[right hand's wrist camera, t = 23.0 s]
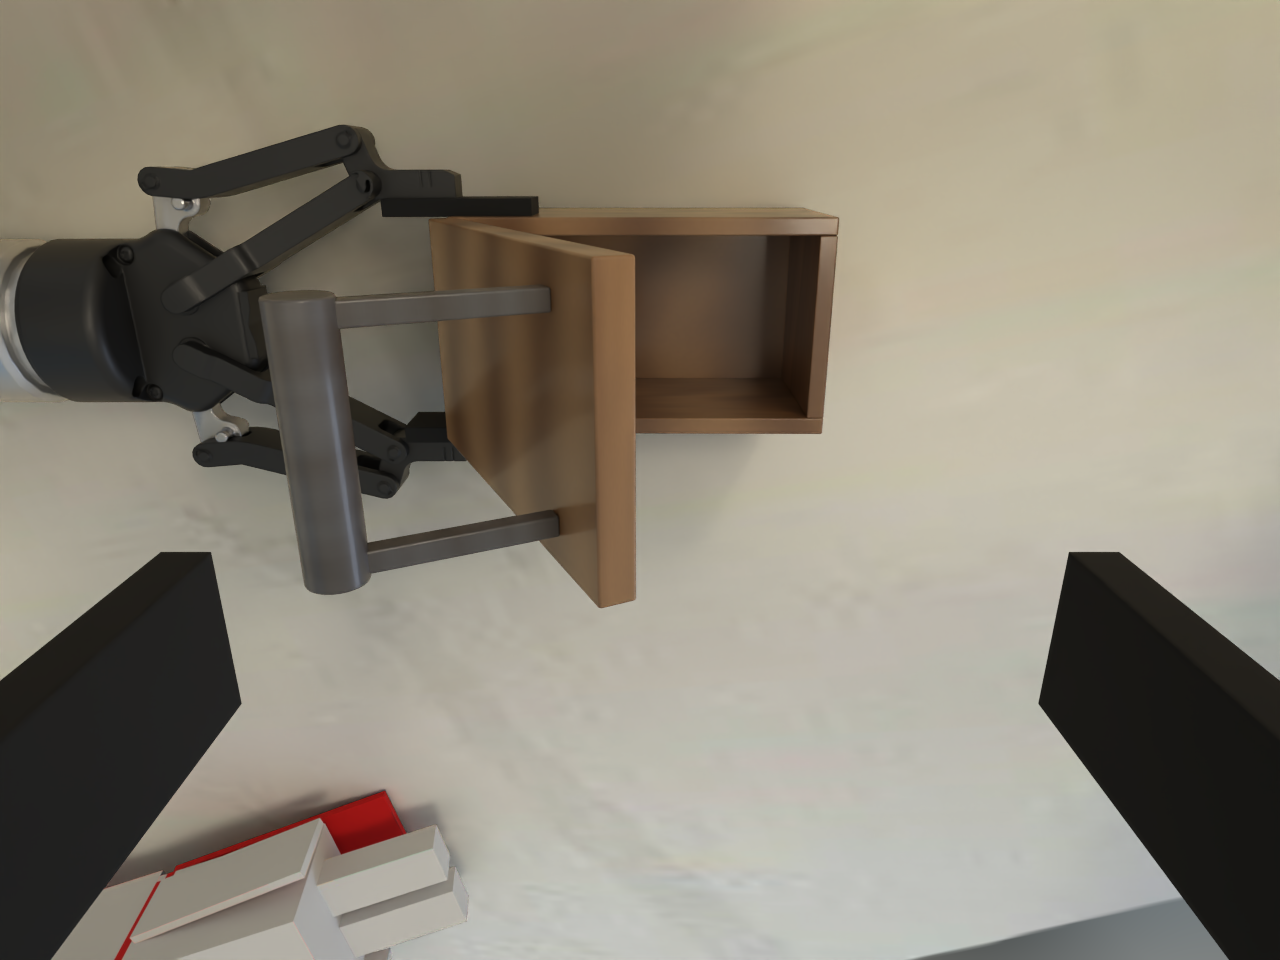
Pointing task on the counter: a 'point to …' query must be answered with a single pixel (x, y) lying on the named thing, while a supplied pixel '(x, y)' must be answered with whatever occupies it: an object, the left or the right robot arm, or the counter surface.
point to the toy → (285, 896)
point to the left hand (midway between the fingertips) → (540, 321)
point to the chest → (718, 310)
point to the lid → (478, 406)
